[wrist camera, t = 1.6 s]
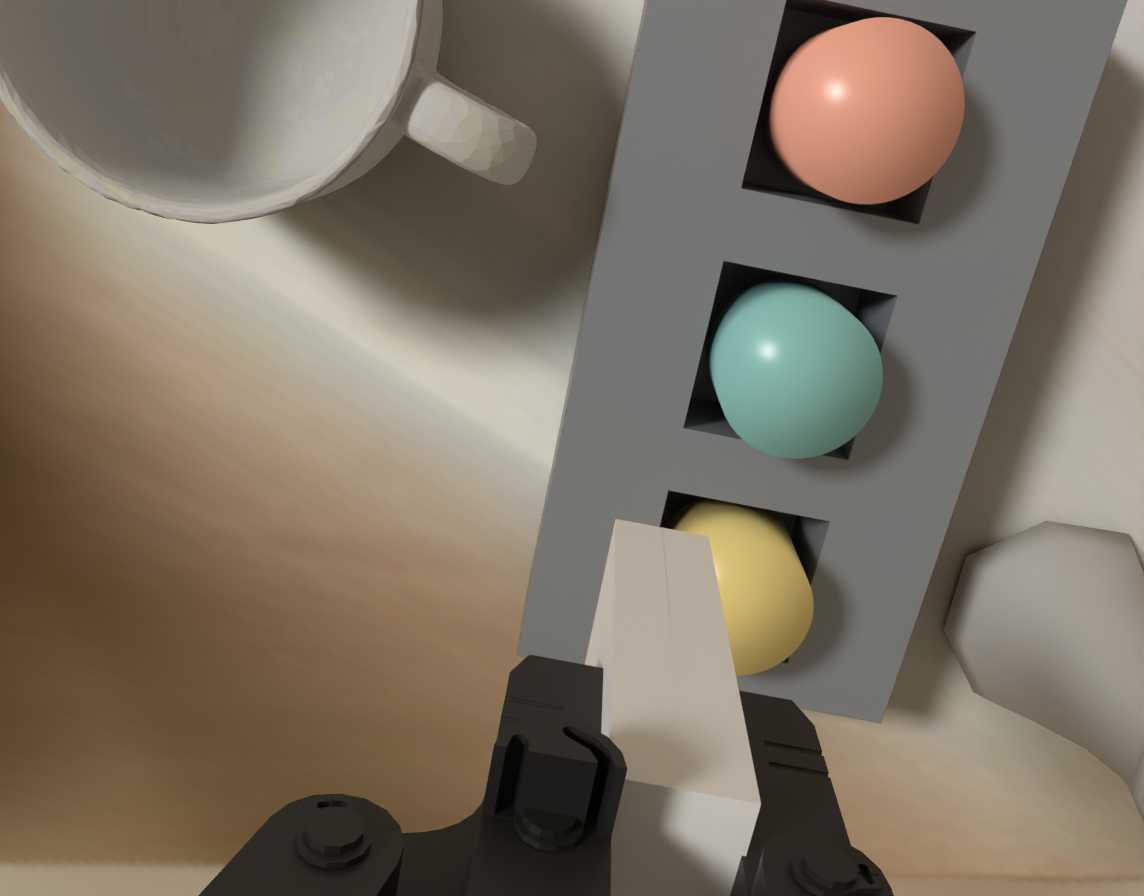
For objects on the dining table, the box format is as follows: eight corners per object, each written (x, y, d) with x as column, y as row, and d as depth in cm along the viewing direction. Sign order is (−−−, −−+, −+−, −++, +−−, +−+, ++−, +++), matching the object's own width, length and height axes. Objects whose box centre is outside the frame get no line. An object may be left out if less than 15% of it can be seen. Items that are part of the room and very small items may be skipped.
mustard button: (643, 603, 34) (647, 661, 31) (672, 481, 33) (680, 527, 29) (772, 627, 34) (791, 687, 31) (807, 507, 33) (831, 556, 29)
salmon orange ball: (746, 175, 30) (764, 185, 26) (785, 11, 28) (811, 0, 25) (895, 205, 30) (933, 219, 26) (941, 44, 28) (988, 37, 25)
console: (525, 597, 37) (516, 655, 33) (660, -76, 30) (667, -100, 26) (853, 659, 37) (881, 723, 33) (1062, 9, 30) (1128, -3, 26)
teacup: (41, 40, 31) (-138, 22, 24) (234, -291, 28) (99, -431, 21) (412, 325, 34) (356, 392, 26) (624, 49, 31) (630, 34, 23)
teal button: (691, 404, 32) (701, 442, 28) (725, 264, 31) (740, 285, 27) (829, 431, 32) (856, 472, 29) (869, 293, 31) (903, 318, 27)
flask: (946, 712, 38) (1060, 917, 28) (935, 532, 36) (1054, 690, 26) (1150, 686, 37) (1335, 887, 28) (1152, 502, 35) (1354, 652, 26)
